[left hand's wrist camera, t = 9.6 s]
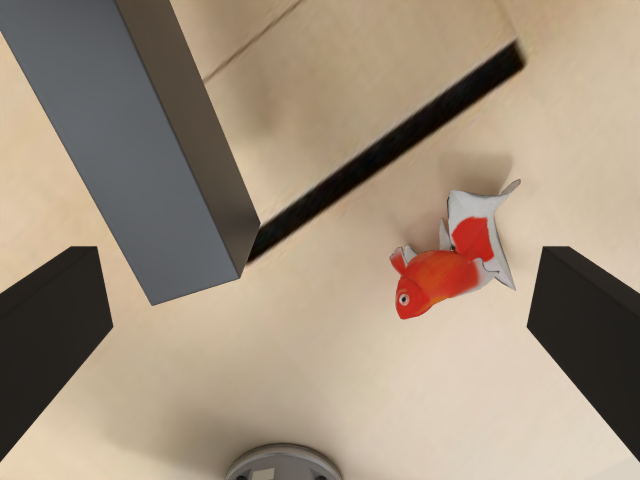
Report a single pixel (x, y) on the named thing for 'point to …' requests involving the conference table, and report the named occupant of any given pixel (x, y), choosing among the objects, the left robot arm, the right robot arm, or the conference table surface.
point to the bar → (139, 135)
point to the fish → (454, 256)
